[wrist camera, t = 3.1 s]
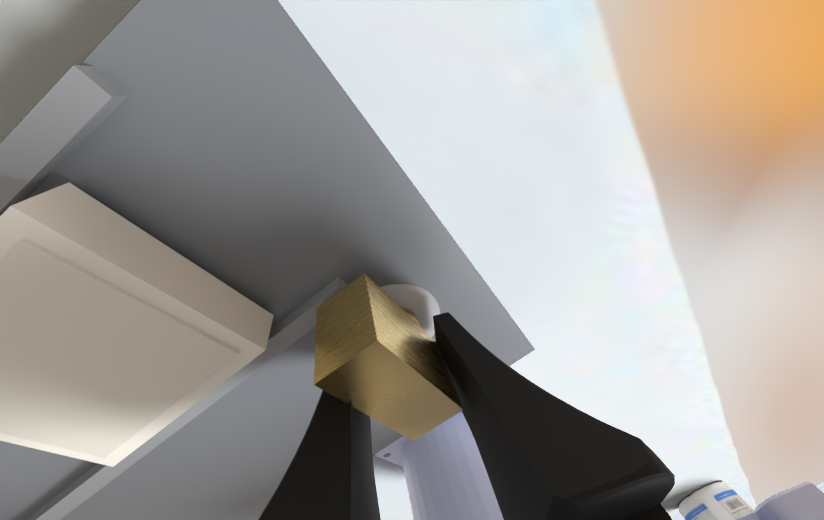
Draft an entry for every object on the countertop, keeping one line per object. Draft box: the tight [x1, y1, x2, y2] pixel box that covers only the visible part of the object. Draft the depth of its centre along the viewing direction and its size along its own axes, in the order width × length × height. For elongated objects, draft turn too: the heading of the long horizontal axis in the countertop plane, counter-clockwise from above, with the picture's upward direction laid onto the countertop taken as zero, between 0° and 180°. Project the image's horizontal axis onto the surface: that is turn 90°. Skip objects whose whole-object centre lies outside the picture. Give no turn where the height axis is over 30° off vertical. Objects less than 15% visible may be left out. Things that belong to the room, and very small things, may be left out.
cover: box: [0, 182, 274, 467], centre depth 9 cm, size 6×7×2 cm
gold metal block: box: [314, 273, 464, 441], centre depth 10 cm, size 4×2×4 cm, turn 34°
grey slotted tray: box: [0, 0, 535, 520], centre depth 13 cm, size 18×25×4 cm
